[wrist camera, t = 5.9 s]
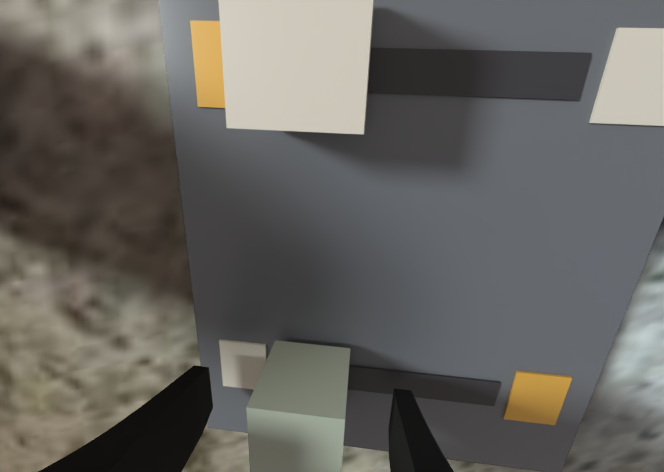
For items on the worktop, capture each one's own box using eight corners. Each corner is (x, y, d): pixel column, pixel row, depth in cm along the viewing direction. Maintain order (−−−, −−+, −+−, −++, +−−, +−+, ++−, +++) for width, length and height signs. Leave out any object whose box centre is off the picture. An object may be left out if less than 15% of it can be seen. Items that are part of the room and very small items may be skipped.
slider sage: (350, 348, 12) (345, 419, 9) (345, 416, 13) (339, 499, 10) (275, 340, 13) (246, 407, 10) (276, 407, 14) (251, 486, 11)
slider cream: (374, -4, 9) (378, -76, 6) (364, 132, 10) (363, 134, 7) (266, -5, 9) (213, -74, 6) (269, 128, 10) (226, 128, 7)
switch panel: (686, 0, 10) (768, -32, 8) (536, 432, 16) (561, 476, 14) (190, -4, 11) (151, -34, 9) (225, 394, 17) (206, 429, 15)
